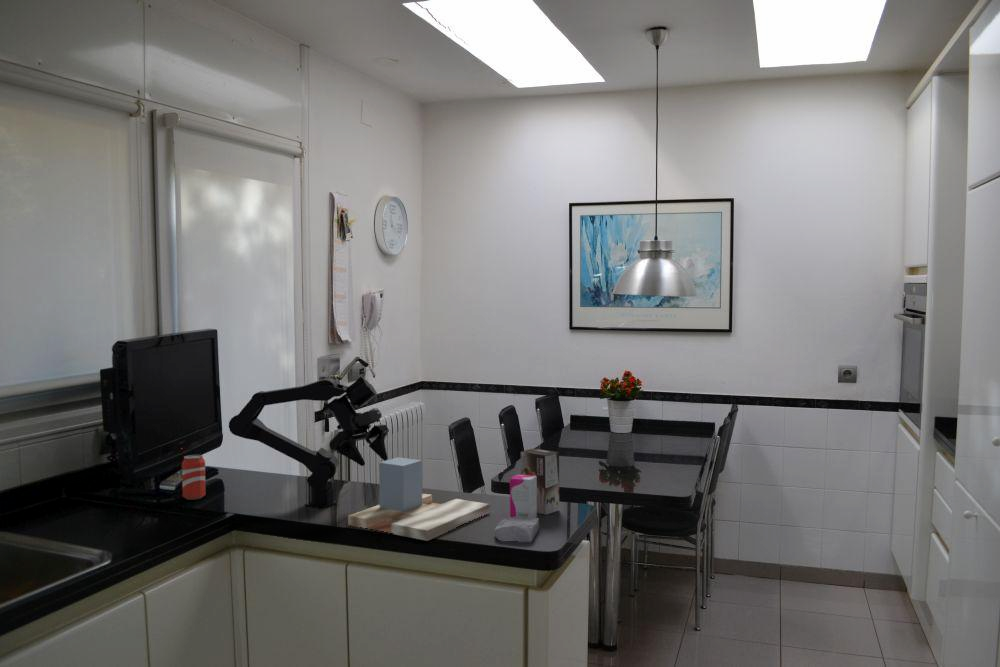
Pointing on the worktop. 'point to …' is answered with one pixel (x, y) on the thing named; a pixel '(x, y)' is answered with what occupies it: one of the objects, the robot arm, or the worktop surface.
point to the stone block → (517, 529)
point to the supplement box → (523, 496)
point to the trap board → (420, 518)
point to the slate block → (400, 484)
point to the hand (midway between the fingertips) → (375, 462)
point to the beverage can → (193, 477)
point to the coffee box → (543, 477)
